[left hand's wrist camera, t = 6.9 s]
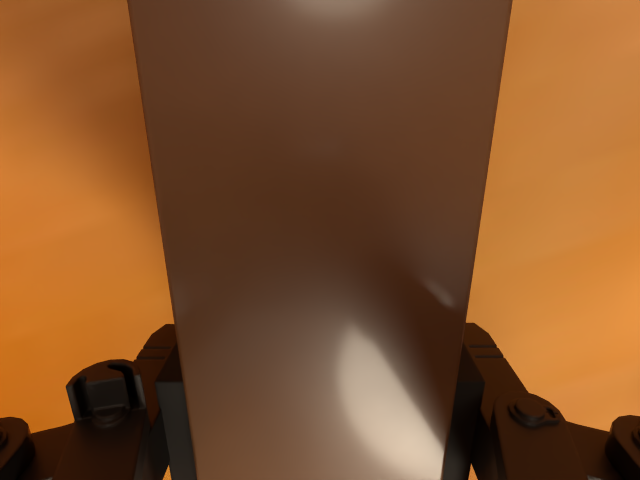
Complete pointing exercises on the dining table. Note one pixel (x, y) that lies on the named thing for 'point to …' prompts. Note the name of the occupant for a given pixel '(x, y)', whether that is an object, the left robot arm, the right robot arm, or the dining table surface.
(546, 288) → the dining table surface
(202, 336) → the beam
